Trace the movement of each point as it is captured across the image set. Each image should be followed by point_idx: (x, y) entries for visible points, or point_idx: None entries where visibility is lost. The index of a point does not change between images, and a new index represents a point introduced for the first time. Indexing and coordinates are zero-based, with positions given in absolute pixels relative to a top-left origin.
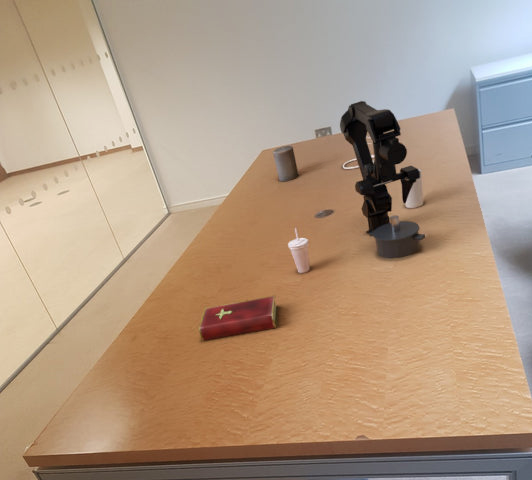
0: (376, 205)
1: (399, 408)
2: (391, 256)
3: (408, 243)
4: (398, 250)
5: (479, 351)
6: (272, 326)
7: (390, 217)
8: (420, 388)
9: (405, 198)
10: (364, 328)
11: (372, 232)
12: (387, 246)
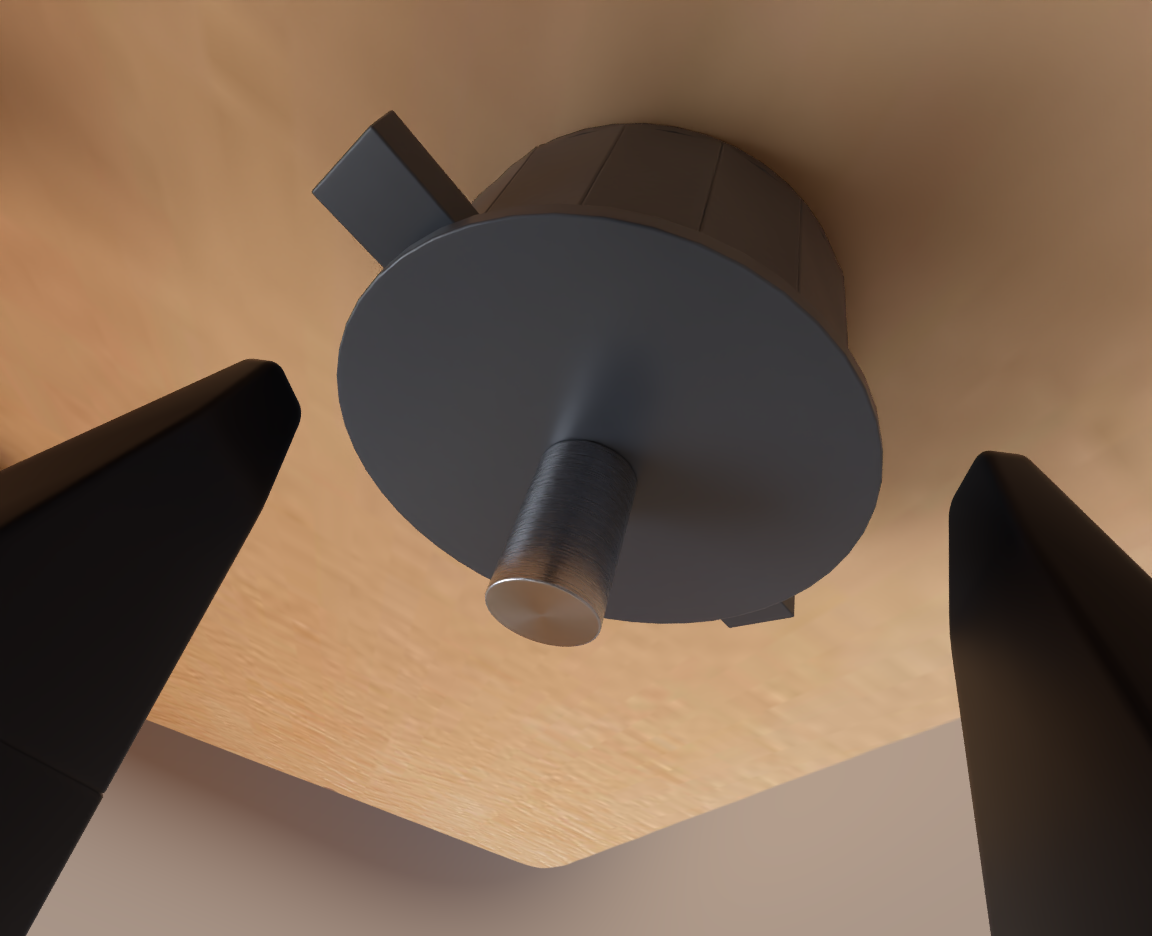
0: (209, 581)
1: (389, 797)
2: None
3: None
4: None
5: (564, 821)
6: None
7: (495, 592)
8: (430, 799)
9: (973, 668)
10: (335, 680)
11: (353, 198)
12: None
